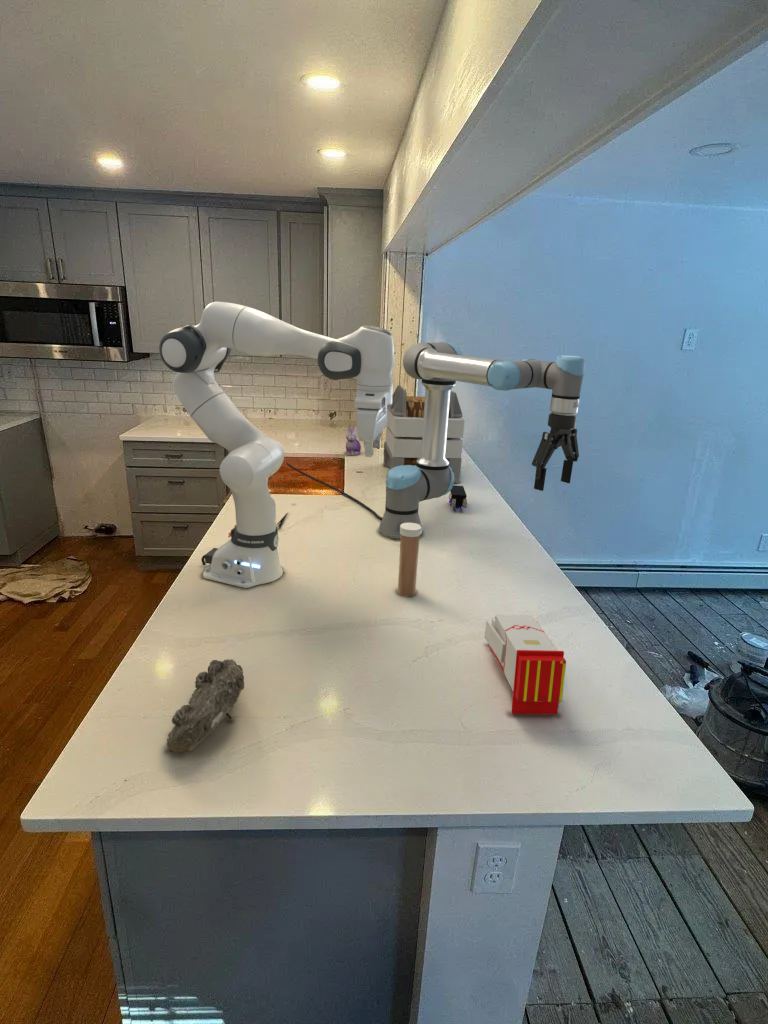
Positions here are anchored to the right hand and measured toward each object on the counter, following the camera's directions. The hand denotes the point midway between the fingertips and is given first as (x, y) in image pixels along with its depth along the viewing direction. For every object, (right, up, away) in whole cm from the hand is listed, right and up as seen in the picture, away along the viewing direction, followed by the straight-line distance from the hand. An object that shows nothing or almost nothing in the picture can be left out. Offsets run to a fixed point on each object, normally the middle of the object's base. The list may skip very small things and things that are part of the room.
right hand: (552, 485), depth 166 cm
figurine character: (-20, -6, +64) cm, 67 cm away
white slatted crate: (-32, +11, +109) cm, 115 cm away
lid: (-42, -12, -13) cm, 45 cm away
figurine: (-66, +24, +140) cm, 156 cm away
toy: (-20, -43, -40) cm, 62 cm away
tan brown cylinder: (-43, -30, -6) cm, 53 cm away
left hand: (-52, +8, -23) cm, 57 cm away
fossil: (-82, -47, -57) cm, 110 cm away
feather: (-86, -9, +46) cm, 98 cm away
